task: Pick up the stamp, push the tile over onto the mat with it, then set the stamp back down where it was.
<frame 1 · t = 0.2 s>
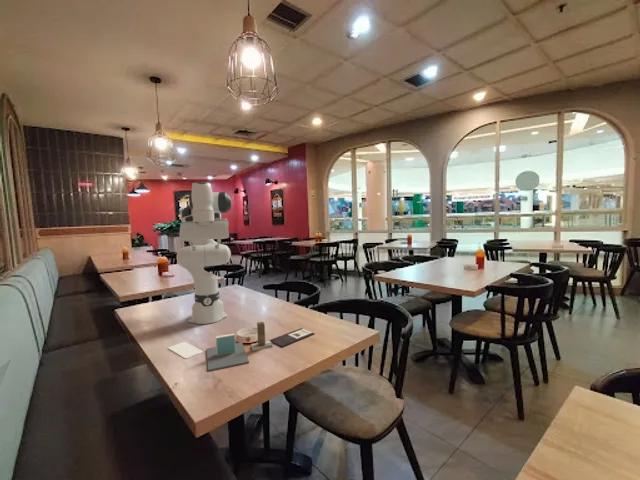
hand: (205, 249, 131), 39 cm above the table, tool pointing down, fingers open, 8 cm apart
stamp: (261, 346, 123), on the table
mat: (226, 356, 116), on the table
chocolate bar: (292, 339, 131), on the table
white flat slab: (185, 351, 122), on the table
tile: (225, 344, 117), point 4 cm above the table, touching mat
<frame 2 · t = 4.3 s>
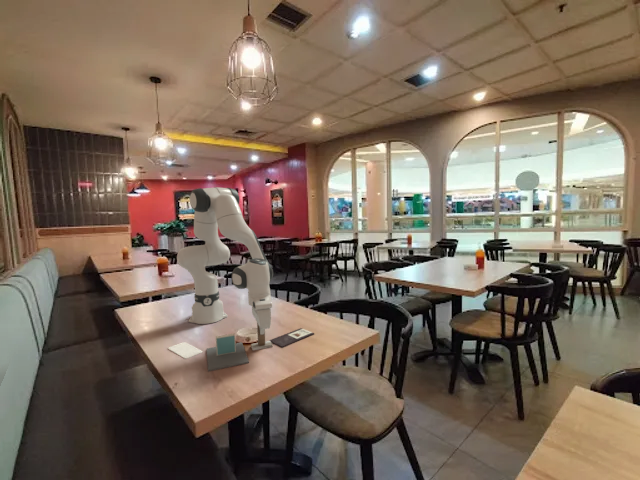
hand: (261, 332, 123), 6 cm above the table, tool pointing down, fingers closed on stamp, 2 cm apart
stamp: (261, 346, 123), on the table, touching gripper
everything else where it was.
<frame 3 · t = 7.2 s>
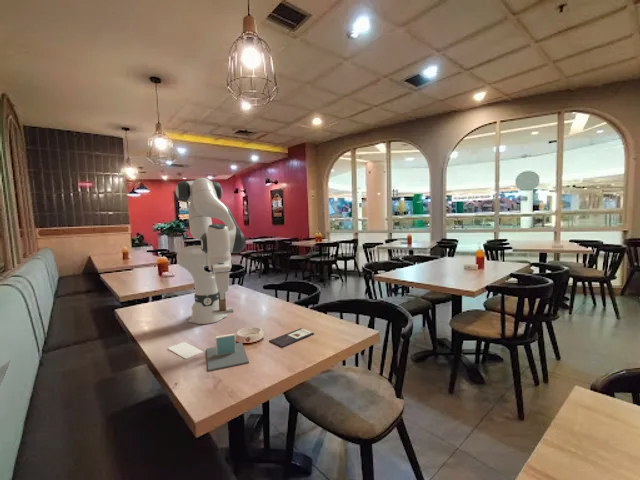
hand: (222, 297, 123), 20 cm above the table, tool pointing down, fingers closed on stamp, 2 cm apart
stamp: (222, 312, 123), point 14 cm above the table, touching gripper
everything else where it was.
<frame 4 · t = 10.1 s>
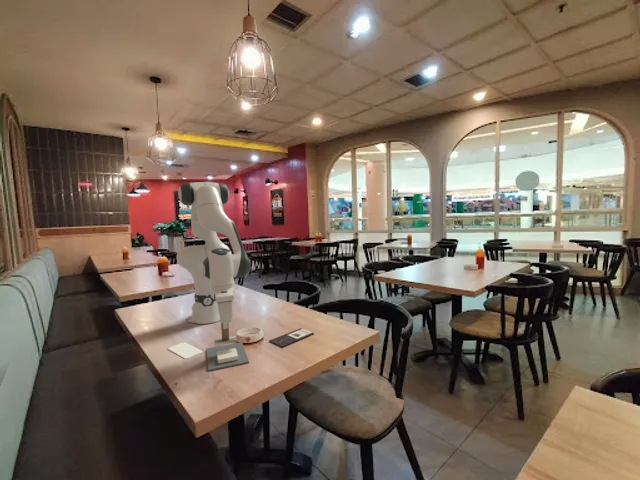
hand: (225, 326, 116), 11 cm above the table, tool pointing down, fingers closed on stamp, 2 cm apart
stamp: (225, 342, 116), point 5 cm above the table, touching gripper
tile: (227, 355, 113), point 2 cm above the table, tilted 90°, touching mat
everything else where it was.
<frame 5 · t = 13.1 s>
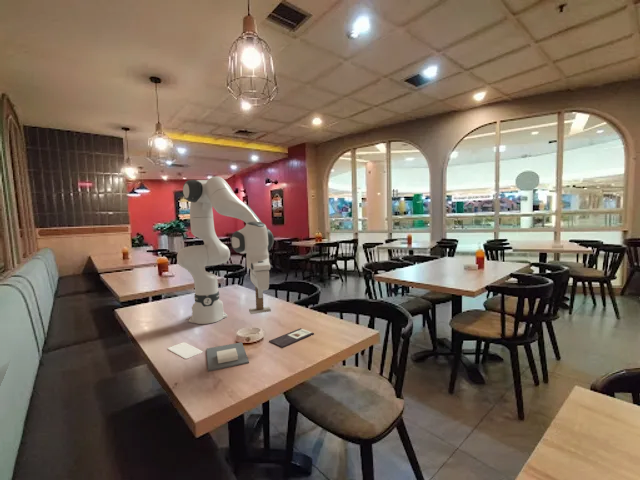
hand: (259, 296, 121), 21 cm above the table, tool pointing down, fingers closed on stamp, 2 cm apart
stamp: (260, 311, 122), point 15 cm above the table, touching gripper
everything else where it was.
when the fingers open (8 cm above the table, at t = 15.7 s): stamp drops 2 cm, on the table.
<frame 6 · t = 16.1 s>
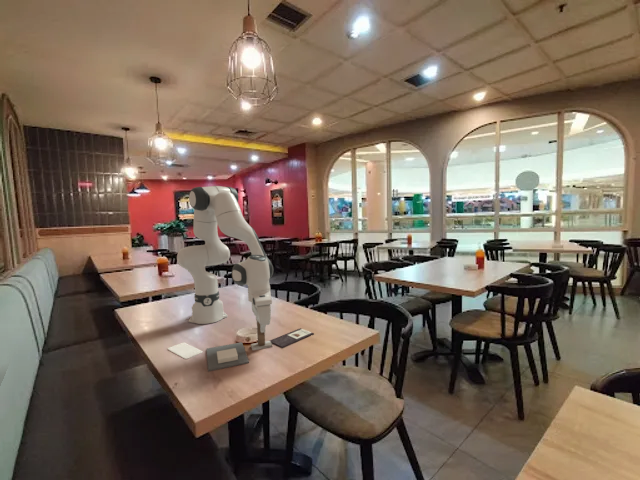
hand: (260, 328, 123), 8 cm above the table, tool pointing down, fingers open, 6 cm apart
stamp: (261, 346, 123), on the table
everything else where it was.
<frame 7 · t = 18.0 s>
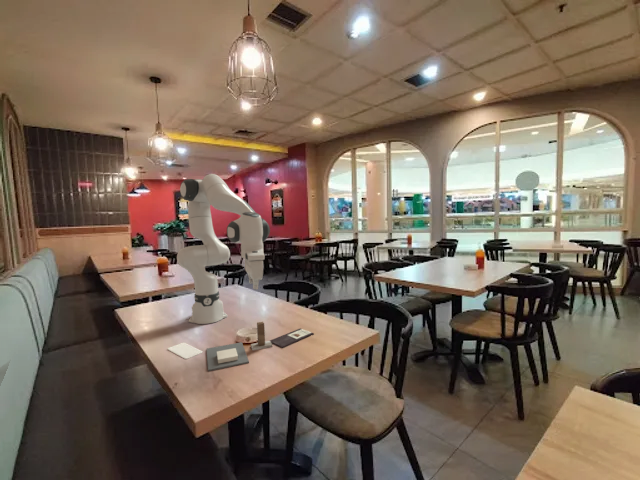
hand: (253, 286, 123), 25 cm above the table, tool pointing down, fingers open, 8 cm apart
nothing on the table moved.
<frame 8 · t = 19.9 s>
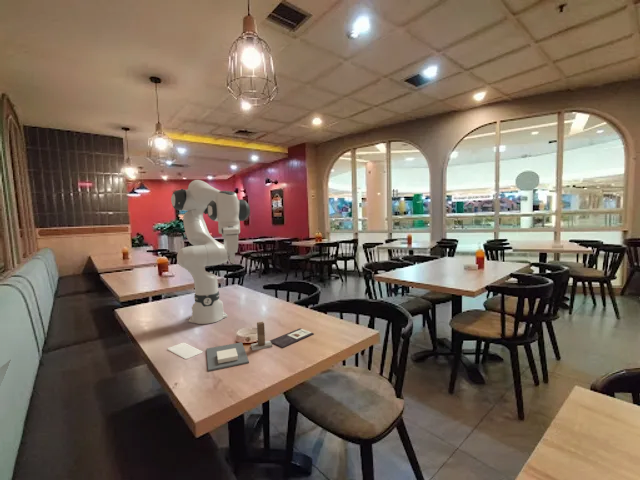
hand: (231, 261, 130), 34 cm above the table, tool pointing down, fingers open, 8 cm apart
nothing on the table moved.
at the end: tile tilted 90°; tile inside the target area on the mat (1.6 cm from its centre), point 1.5 cm above the mat's base; stamp touching table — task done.
